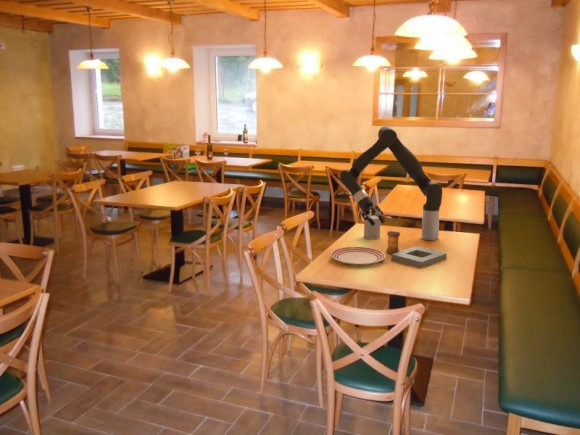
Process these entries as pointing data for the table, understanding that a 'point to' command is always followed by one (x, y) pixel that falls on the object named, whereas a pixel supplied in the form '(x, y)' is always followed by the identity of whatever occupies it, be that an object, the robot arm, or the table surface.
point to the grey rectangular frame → (411, 258)
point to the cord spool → (393, 241)
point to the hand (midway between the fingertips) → (378, 223)
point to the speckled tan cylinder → (372, 229)
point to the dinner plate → (358, 255)
